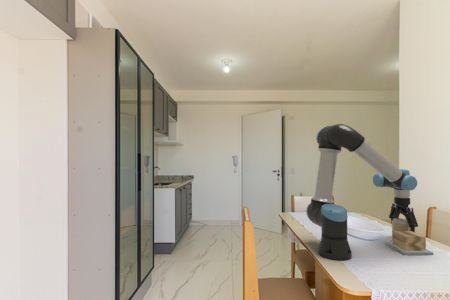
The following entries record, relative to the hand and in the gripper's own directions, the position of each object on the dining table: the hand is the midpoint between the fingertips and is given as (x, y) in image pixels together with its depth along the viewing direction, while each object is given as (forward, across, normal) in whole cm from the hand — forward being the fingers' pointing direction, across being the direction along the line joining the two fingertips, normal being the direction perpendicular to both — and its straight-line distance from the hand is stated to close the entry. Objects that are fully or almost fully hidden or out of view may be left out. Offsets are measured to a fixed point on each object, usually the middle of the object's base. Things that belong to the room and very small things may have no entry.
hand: (402, 235), depth 148 cm
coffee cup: (+4, 0, 0) cm, 4 cm away
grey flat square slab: (+4, -13, +6) cm, 15 cm away
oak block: (+2, -13, +6) cm, 15 cm away
